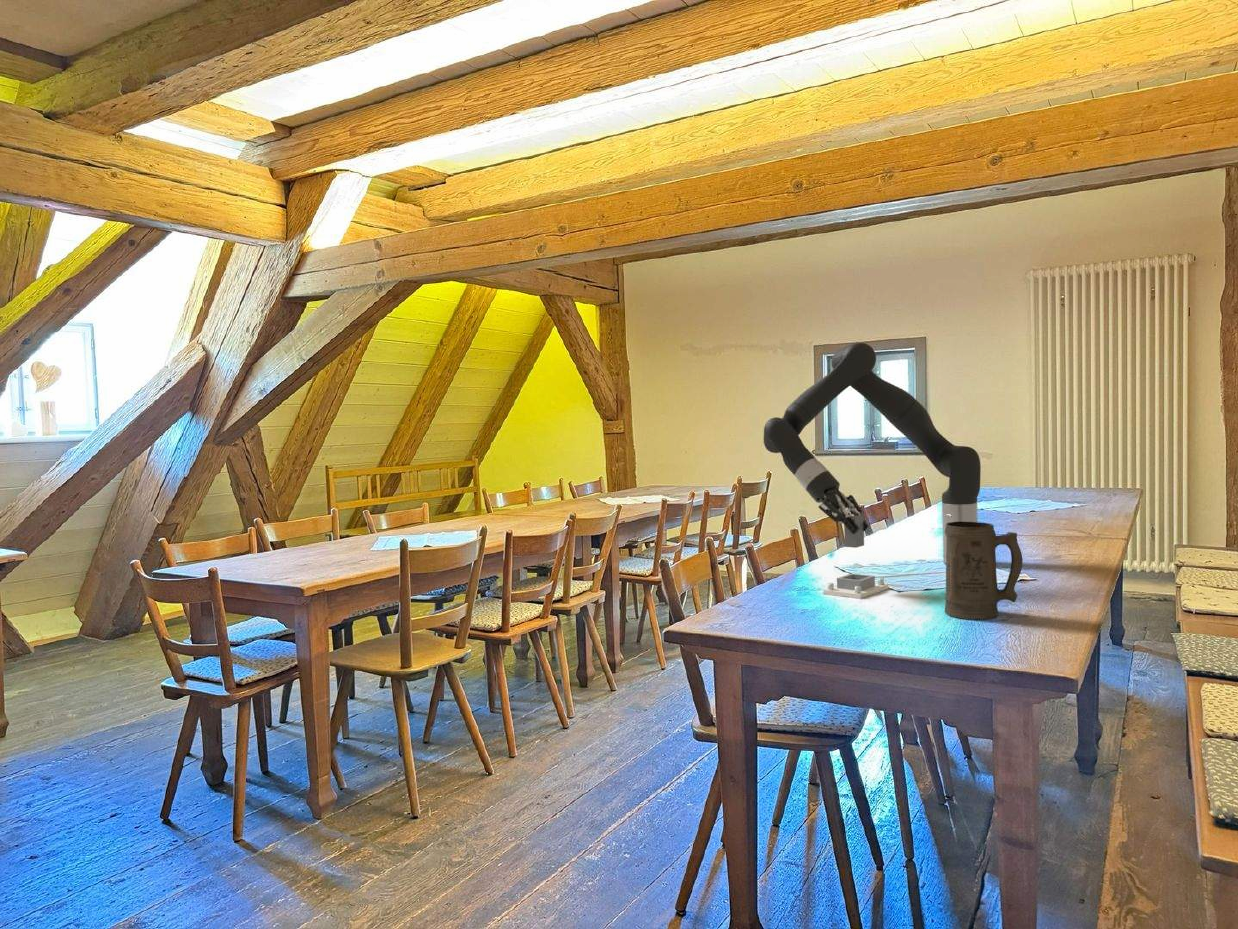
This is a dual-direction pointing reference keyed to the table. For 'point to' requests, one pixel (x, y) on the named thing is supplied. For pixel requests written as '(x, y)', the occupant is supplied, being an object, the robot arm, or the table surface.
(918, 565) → the table surface
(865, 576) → the plate
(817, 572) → the table surface
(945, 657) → the table surface
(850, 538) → the block
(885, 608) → the table surface
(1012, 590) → the beer stein
